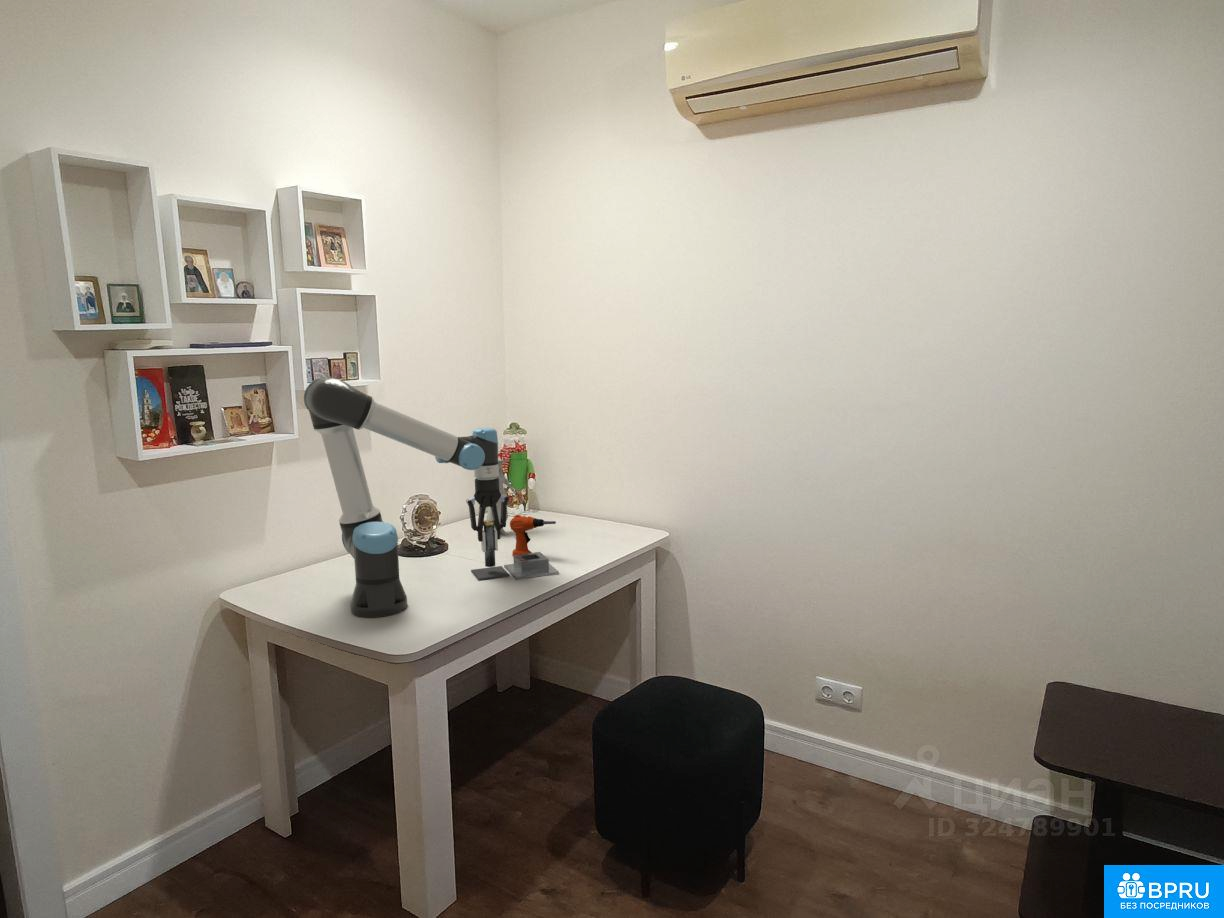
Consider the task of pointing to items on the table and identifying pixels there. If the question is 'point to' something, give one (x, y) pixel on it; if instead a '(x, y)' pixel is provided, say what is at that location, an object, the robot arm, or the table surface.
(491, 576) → the mat
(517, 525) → the toy drill
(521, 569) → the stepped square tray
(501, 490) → the character figure
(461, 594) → the table surface
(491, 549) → the gold capped cylinder
